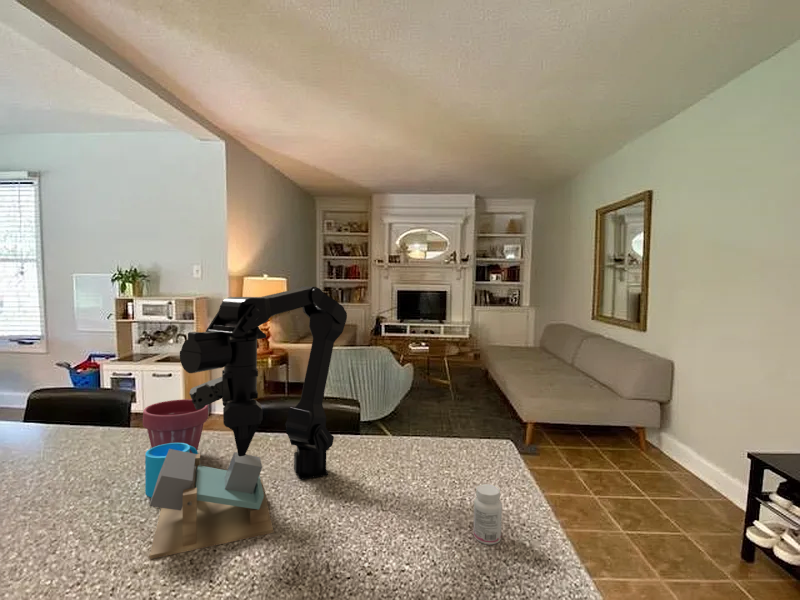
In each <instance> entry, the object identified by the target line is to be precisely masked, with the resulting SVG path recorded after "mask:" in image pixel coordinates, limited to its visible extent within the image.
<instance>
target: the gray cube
mask: <svg viewBox="0 0 800 600" xmlns="http://www.w3.org/2000/svg"><path fill="white" fill-rule="evenodd" d="M262 469H263V464H262V460H261V457H260V456H256V455H252V454H247V453H246V454H245V456H238V451H234V452H233V454H232V457H231V460H230V462H229V465H228V467H227V469H226V470H227V472H226V475H225V489H226V490H232V491H238V492H244V493H250V494H253V491H254V488H255V486H256V483H257V480H258V478H259V475H261V472H262Z"/></svg>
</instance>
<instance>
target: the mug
mask: <svg viewBox="0 0 800 600" xmlns="http://www.w3.org/2000/svg"><path fill="white" fill-rule="evenodd" d="M169 449H173V450H178V451H183V452H188V453H190V450H191V451H192V453H194V454H199V452H198V451H199V450H196V448H195V447H193V446H189V445H188V444H185V443H168V444H163V445H158V446H156V447H153V448H151V447H150V448H149V449H147V451H145V458H144V459H145V460H144V461H145V462H144V463H145V469H144V473H145V476H144V479H145V481H144V482H145V483H144V485H145V488H144V489H145V490H144V492H145V493H144V494H145V495H146V496H147V497H149V498H150V499H152V496H153V492H154V489H155V486H156V482H157V479H158V476H159V473H160V470H161V468H162V465H163V463H164V460H165V458H166V455H167V453H168V450H169Z"/></svg>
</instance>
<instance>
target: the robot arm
mask: <svg viewBox="0 0 800 600" xmlns="http://www.w3.org/2000/svg"><path fill="white" fill-rule="evenodd" d="M301 308H302V312H303V313H304V315H306V316H307V317H308V318H309V322H308V323H309V325H308V327H309V331H310V333H311V335H312V336H311V337H312V343H311V348H310V352H309V357H308V362H307V367H306V371H305V376H304V381H303V385H302V386H303V387H302V391H301V396H300V400H299V401H298V402H297V404H296V405H295V407H293V406H290V407H289V409H288V411H287V418H286V421H285V424H284V426H285V427H286V429H285V433H286V436H287V437H288V439H289V443H290V445H291V446H296V451H294V453H293V455H294V456H293V470H294V473H295V474H296V476H297V477H298V479H299V480H307V479H314V478H320V477H325V476H328V475H329V471H328V470H327V451H329V450H330V448H331V447H333V443H334V439H335V438H334V435H333V434H332V433H331V432H330V431H329V430H328V428H326V425H327V415H326V413H325V409H324V407H323V406H324V405H323V401H324V396H325V390H326V385H327V380H328V375H329V370H330V365H331V360H332V355H333V350H334V345H335V343H336V341H337V340H338V339H339V337H341V335H342V333H343V332H344V328H345V325H346V323H347V318H348V312H347V310H346V309H345V307H344V306H343V305H342V304H340V303H339V301H338V300H335V298H332V297H331V296H329V295H328V294H326V293H324V292H323V290H322V289H321V288H319V287H317V286H306V285H305V286H303V285H302V286H301V287H300V286H299V287H298V288H295V289H290V290H286V291H281V292H277V293H272V294H268V295H264V296H229V297H226V298H225V299H223V300H222V301H221V304H220V306H219V309H218V311H217V313H216V314H215V316H214V318H213V319H212V320H211V322H210V323H209V325H208V327H206V330H205V331H202V332H201V331H189V332H188V333H187V339H186V340H185V341H184V342H183V344H182V346H181V350H180V351H179V360H180V364H181V367H182V368H183V369H184V371H185V372H186V373H188V374H195V373H200V372H205V371H212V370H219V369H222V368H223V369H222V370H221V371H222V373H221V374H222V375H221V376H220V377H217V378H214V379H211V380H208V381H206V382H204V383H201V384H199V385H195V386H194V387H191V389H190V390H189V397H190V398H191V399H192V403H194V406H195V408H196V409H197V410H198V409H201V408H204V406H205V405H208V406H209V405H210V404H212V403H216V402H217V401H219V400H221V401H222V405H223V408H222V409H223V410H222V414H223V415H222V417H223V418H222V420H223V425H224V427H226V428H229V429H230V430H231V431H232V432H233V435H234V437H233V438H234V440H235V441H234V442H235V446H236V450H237V451H236V452H237V453H238V456H245V454H247V452H248V450H249V447H250V445H251V442H252V440H253V439H254V436H255V434H256V432H257V430H258V428H259V426H260V425H261V423H262V421H263V420H264V419H263V417H264V416H263V412H264V411H263V407H262V404H261V403H260V402H258V401H257V400H256V399H259V393H258V390H257V389H258V388H257V387H258V386H257V385H258V379H257V378H258V376H259V370H258V340H260V339H267V334H266V333H265V332H264V331H262V330H261V329H260V327H259V326H262V325H263V324H265V323H267V322H268V321H269V319H271V318H272V317H273V316H276V315H279V314H280V315H281V314H283V313H286V312H291V311H293V310H297V309H301Z"/></svg>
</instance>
